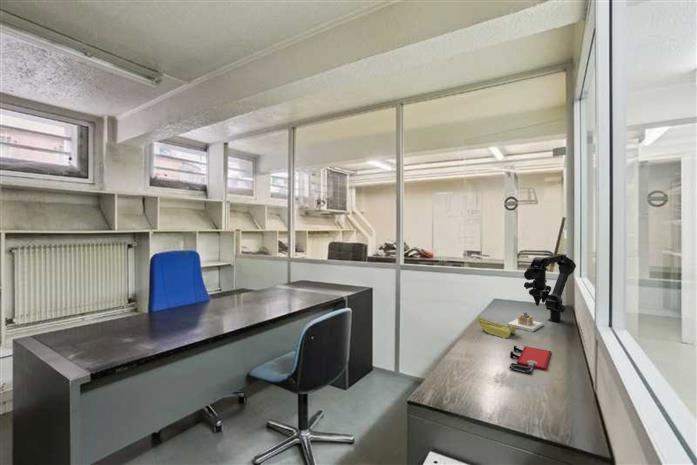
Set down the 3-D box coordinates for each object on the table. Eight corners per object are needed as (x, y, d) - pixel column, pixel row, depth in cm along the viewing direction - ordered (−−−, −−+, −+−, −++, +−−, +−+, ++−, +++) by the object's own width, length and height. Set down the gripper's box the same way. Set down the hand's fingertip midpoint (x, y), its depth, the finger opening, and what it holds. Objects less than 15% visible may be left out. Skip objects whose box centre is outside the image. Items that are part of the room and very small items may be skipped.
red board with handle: (504, 369, 145) (543, 378, 136) (504, 362, 145) (544, 371, 136) (516, 347, 169) (551, 354, 160) (516, 341, 169) (551, 348, 160)
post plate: (518, 320, 209) (518, 307, 209) (542, 325, 199) (542, 311, 198) (507, 326, 200) (507, 312, 199) (532, 331, 189) (532, 317, 189)
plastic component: (517, 329, 187) (511, 325, 180) (514, 342, 185) (508, 339, 179) (482, 319, 201) (476, 316, 195) (479, 331, 200) (472, 328, 193)
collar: (522, 321, 203) (522, 314, 203) (532, 323, 199) (532, 316, 199) (517, 323, 199) (517, 316, 199) (528, 325, 195) (528, 318, 195)
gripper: (531, 274, 213) (532, 299, 213) (519, 279, 200) (519, 304, 201) (551, 276, 204) (551, 302, 205) (539, 281, 192) (539, 308, 193)
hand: (540, 304), depth 201 cm, fingers open, 9 cm apart
